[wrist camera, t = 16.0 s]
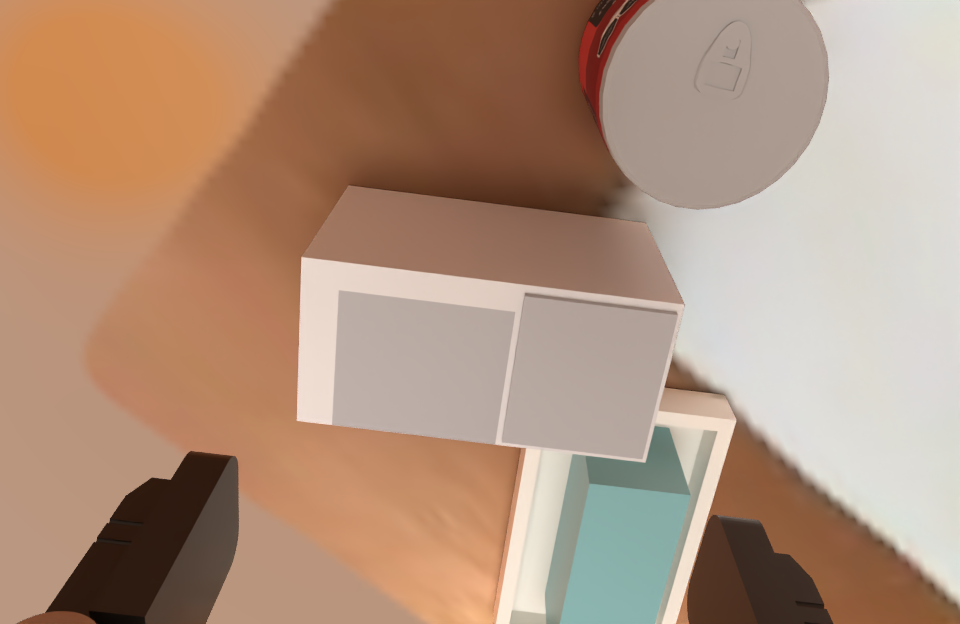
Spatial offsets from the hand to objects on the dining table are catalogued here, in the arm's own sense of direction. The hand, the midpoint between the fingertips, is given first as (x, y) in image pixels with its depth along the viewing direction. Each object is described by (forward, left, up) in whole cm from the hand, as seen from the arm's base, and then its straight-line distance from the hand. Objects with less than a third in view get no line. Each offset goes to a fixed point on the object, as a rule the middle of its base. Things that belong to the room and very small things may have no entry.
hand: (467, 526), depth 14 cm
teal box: (-9, +21, -28) cm, 36 cm away
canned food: (-7, -5, -28) cm, 30 cm away
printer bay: (0, +7, -28) cm, 29 cm away
